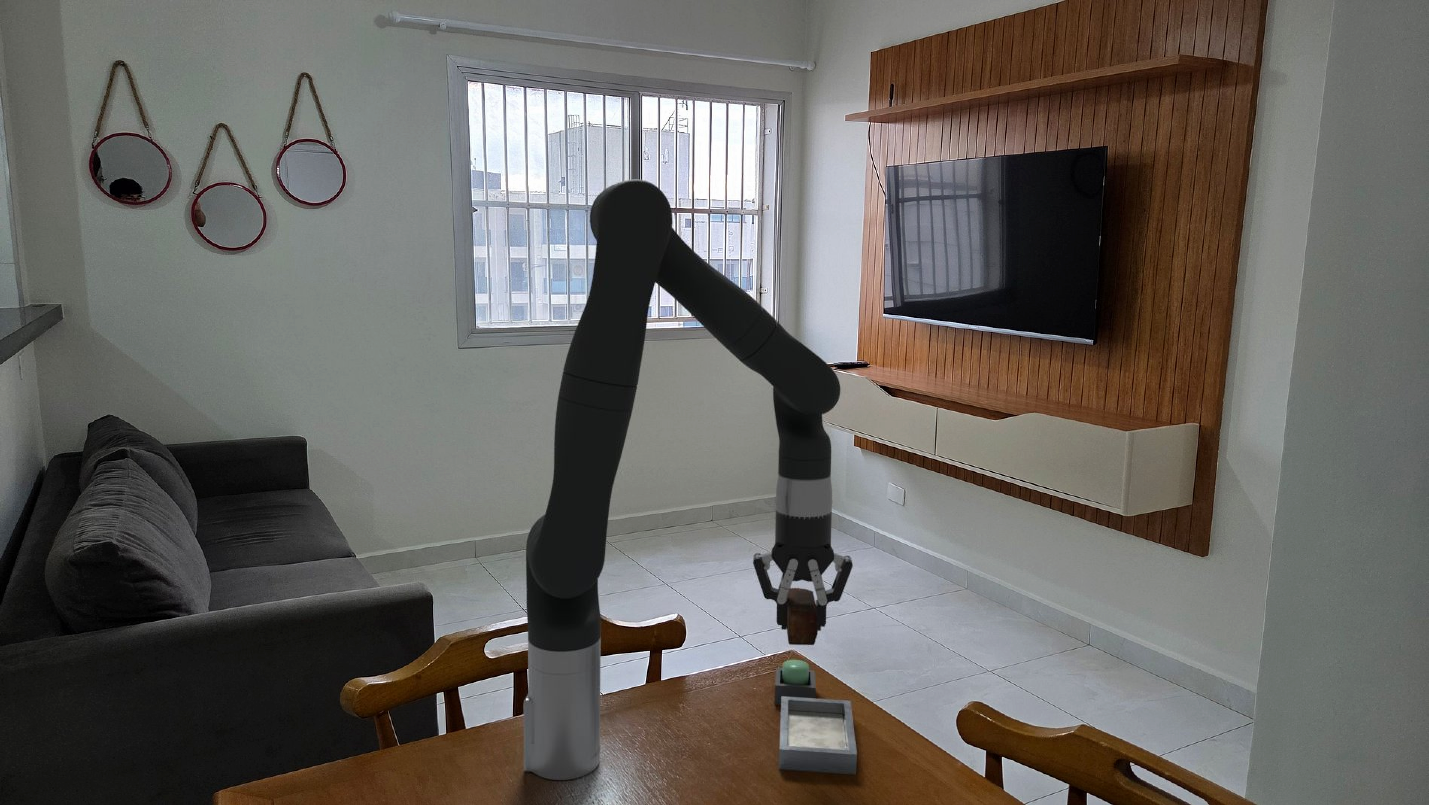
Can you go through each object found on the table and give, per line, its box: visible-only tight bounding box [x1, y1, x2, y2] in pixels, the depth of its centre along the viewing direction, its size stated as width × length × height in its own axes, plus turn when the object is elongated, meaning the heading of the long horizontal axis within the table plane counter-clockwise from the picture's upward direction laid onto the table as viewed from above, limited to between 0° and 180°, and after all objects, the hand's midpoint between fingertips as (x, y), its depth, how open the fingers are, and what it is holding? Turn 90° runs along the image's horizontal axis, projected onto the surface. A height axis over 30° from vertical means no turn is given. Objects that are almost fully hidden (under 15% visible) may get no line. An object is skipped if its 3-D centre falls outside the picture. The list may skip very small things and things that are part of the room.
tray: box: [778, 696, 858, 776], centre depth 130 cm, size 10×15×3 cm, turn 175°
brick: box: [786, 587, 818, 646], centre depth 129 cm, size 11×4×5 cm, turn 178°
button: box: [782, 659, 810, 685], centre depth 143 cm, size 4×4×2 cm
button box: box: [774, 667, 817, 706], centre depth 144 cm, size 6×6×3 cm
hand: (801, 627), depth 129 cm, fingers closed on brick, 4 cm apart
